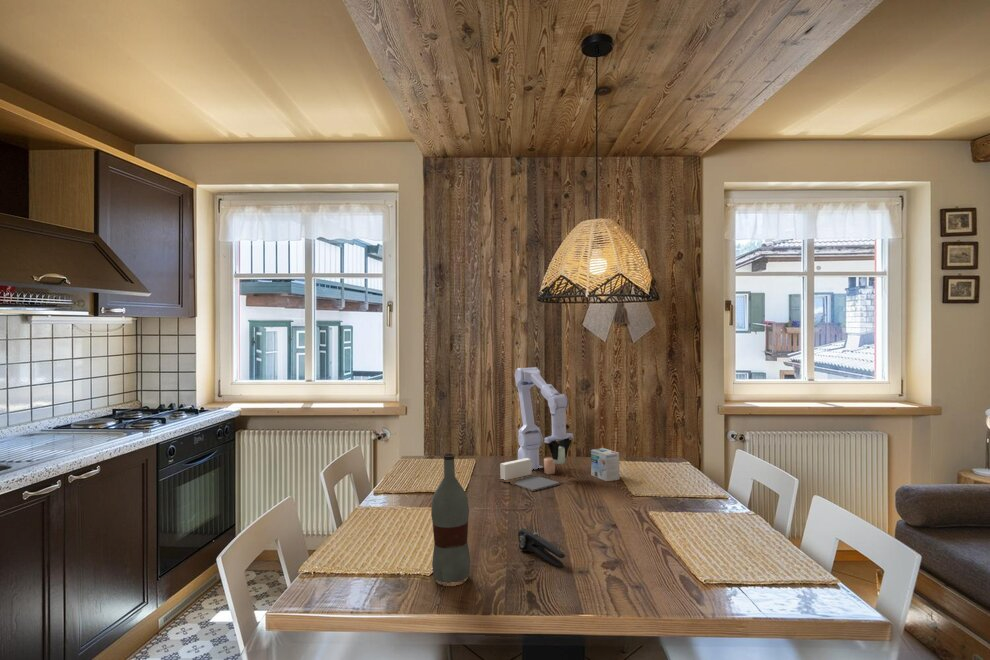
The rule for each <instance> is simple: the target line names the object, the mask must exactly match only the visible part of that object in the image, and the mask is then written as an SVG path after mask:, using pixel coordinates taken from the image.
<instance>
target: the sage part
mask: <svg viewBox="0 0 990 660" xmlns="http://www.w3.org/2000/svg"><path fill="white" fill-rule="evenodd" d="M565 463H566V458H565V447H560V446H559V449H558V460H554V464H555V465H563V464H565Z"/></svg>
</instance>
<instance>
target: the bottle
mask: <svg viewBox="0 0 990 660" xmlns="http://www.w3.org/2000/svg"><path fill="white" fill-rule="evenodd" d="M455 473H456V470H455V453H445V454H443V477H442V479H441V482H439V485H438V486H437V488H436V490H435V492H434V494H433V496H432V500H431V511H430V514H431V522H432V532H433V542H434V543H433V545H434V546H433V550H432V551H433V552H432V564H431V566H432V567H431V568H432V573H433V578H434V577H435V578H434V580H435V579H436V580H438V581H441V582H447V583H450V582H458V581H461V580H464V579H466V578H467V577H468V576H469V577H470V572H471V571H470V570H471V557H470V549H469V544H468V543H469V542H468V535H469V534H468V530H469V516H470V507H469V499H468V496H467V493H466V491H465V490H464V488H463V486H462V485H461V483H460V481H459V480H458V479H457V477H456V476H455V475H456V474H455ZM469 577H468V578H469Z"/></svg>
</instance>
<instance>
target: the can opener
mask: <svg viewBox="0 0 990 660" xmlns="http://www.w3.org/2000/svg"><path fill="white" fill-rule="evenodd" d="M517 536H518V547H519V548H518V549H520V550H521V551H522V550H523V552H526V551H530V552H529V553H531V552H532V553H533V552H534V553H536V554H537V555H538V556H540V557H541V558H543V560H545V561H546V562H547V563H549V564H550V565H552V564H553V565H552V566H554V565H555V567H556V566H557V567H556V568H560V567H561V568H563V567H564V563H563V562H562V561H561V560H560V559H564V558H565V557H566V555H565V553H564V552H563V551H562V550H560V549H559V548H558V547H556V546H555V545H554V544H553V543H551V542H549V541H548V540H546V539H545V538H543V537H542V536H540V535H539V533H538V532H532V531H530V530H528V529H526V528H521V529H520V530H519V531H518V533H517ZM555 556H556V557H555ZM558 558H559V559H558Z"/></svg>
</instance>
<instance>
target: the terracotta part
mask: <svg viewBox="0 0 990 660" xmlns="http://www.w3.org/2000/svg"><path fill="white" fill-rule="evenodd" d="M555 465H556V463H554V459H553V458H552V456H551V457H550V456H549V457H544V458H543V468H544V471H543V472H544V474H545V473H546V474H545V475H554V474H555V473H556V467H555Z"/></svg>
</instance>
